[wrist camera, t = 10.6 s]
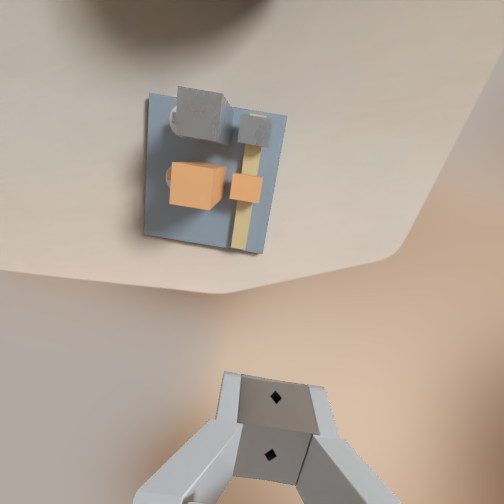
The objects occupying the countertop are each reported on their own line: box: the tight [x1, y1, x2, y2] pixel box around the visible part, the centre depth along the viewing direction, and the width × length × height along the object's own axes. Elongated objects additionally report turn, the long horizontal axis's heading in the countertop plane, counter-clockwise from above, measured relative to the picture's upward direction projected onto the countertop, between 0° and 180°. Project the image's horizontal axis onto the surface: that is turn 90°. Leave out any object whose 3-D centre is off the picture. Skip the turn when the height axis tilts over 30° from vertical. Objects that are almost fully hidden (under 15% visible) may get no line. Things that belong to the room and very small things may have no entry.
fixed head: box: [172, 86, 273, 148], centre depth 30 cm, size 12×4×10 cm, turn 81°
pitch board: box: [144, 93, 287, 254], centre depth 37 cm, size 17×18×2 cm
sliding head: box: [167, 161, 263, 210], centre depth 32 cm, size 12×4×10 cm, turn 81°
